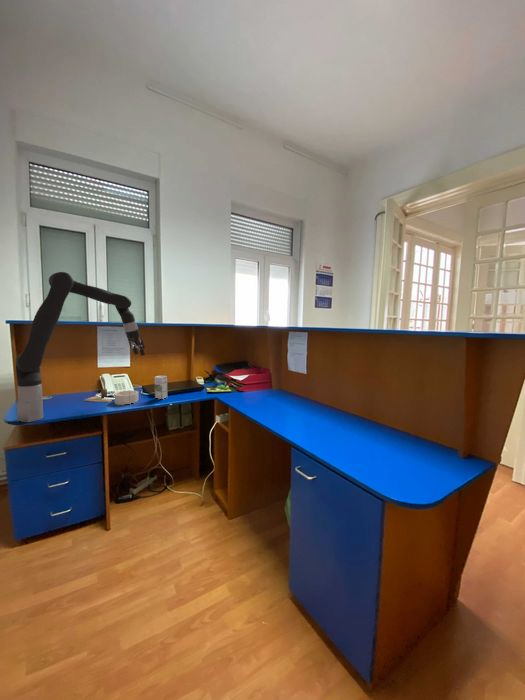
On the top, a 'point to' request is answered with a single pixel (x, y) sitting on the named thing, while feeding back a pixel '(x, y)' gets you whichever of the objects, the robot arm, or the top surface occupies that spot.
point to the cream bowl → (126, 397)
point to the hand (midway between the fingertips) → (139, 354)
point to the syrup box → (160, 387)
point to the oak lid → (97, 399)
